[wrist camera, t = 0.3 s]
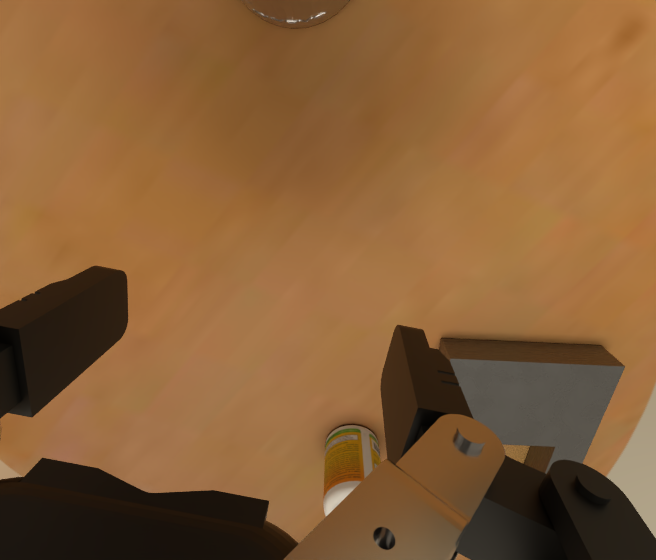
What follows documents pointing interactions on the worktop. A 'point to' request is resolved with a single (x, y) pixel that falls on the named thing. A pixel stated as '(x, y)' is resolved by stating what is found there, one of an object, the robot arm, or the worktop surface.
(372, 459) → the supplement bottle
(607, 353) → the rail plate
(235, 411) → the worktop surface
